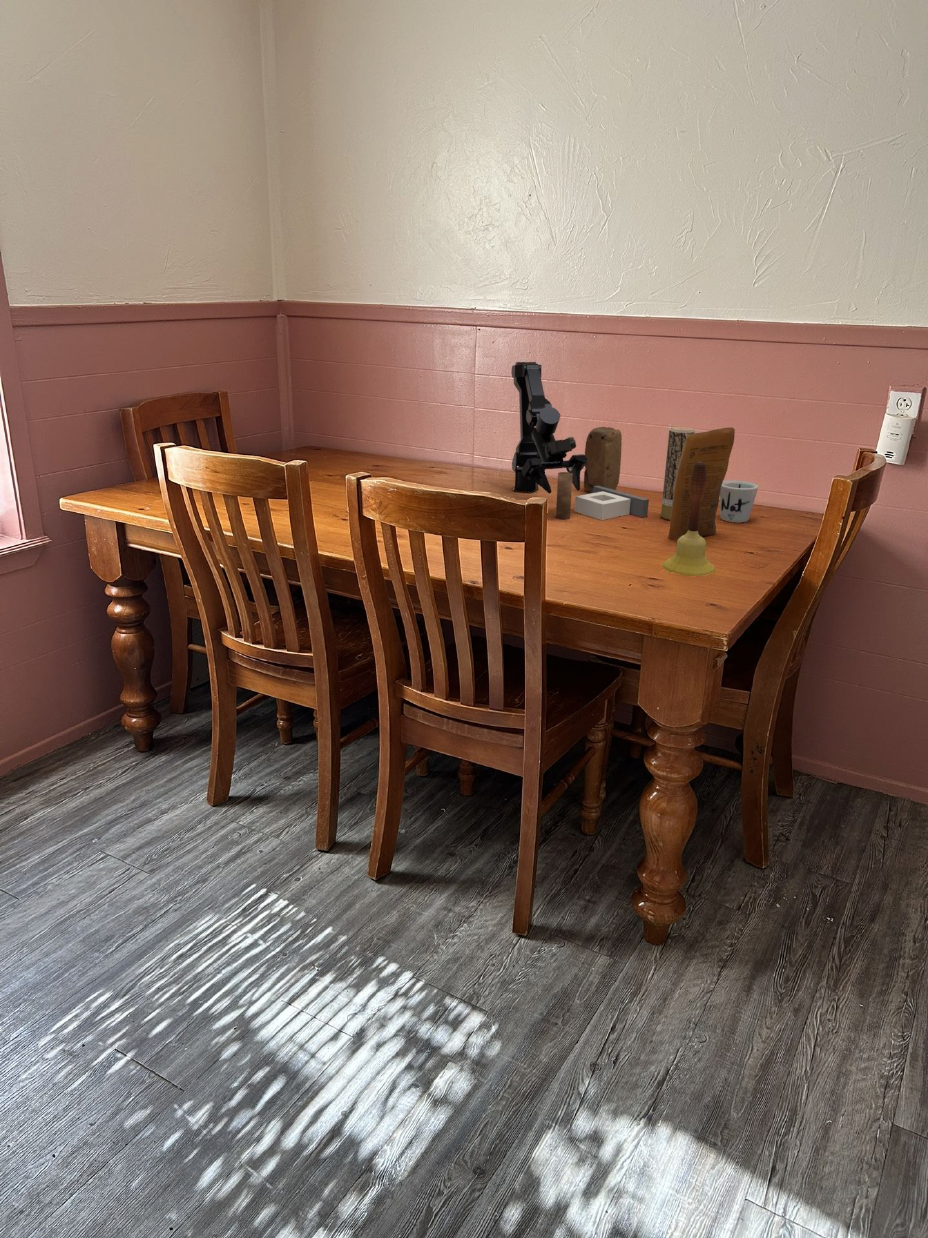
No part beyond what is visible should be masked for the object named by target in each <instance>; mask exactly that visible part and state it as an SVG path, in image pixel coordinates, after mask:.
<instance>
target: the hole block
mask: <svg viewBox="0 0 928 1238" xmlns="http://www.w3.org/2000/svg"><path fill="white" fill-rule="evenodd" d="M574 501H575V502H574V512H575V513H577V512H578V514H580V513H581V515H584V516H588V517H590V518H593V519H596V520H599V521H605V520H609V519H613V518H619V516H620V517H622V516H623V517H624V516H628V515H631V514H630V502H631V499H629V498H625V497H622V496H618V495H614V494H611V493H607V492H603V491H602V492H597V493H591V492H590V493H587V494H582V495H576V496H575V500H574Z"/></svg>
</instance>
